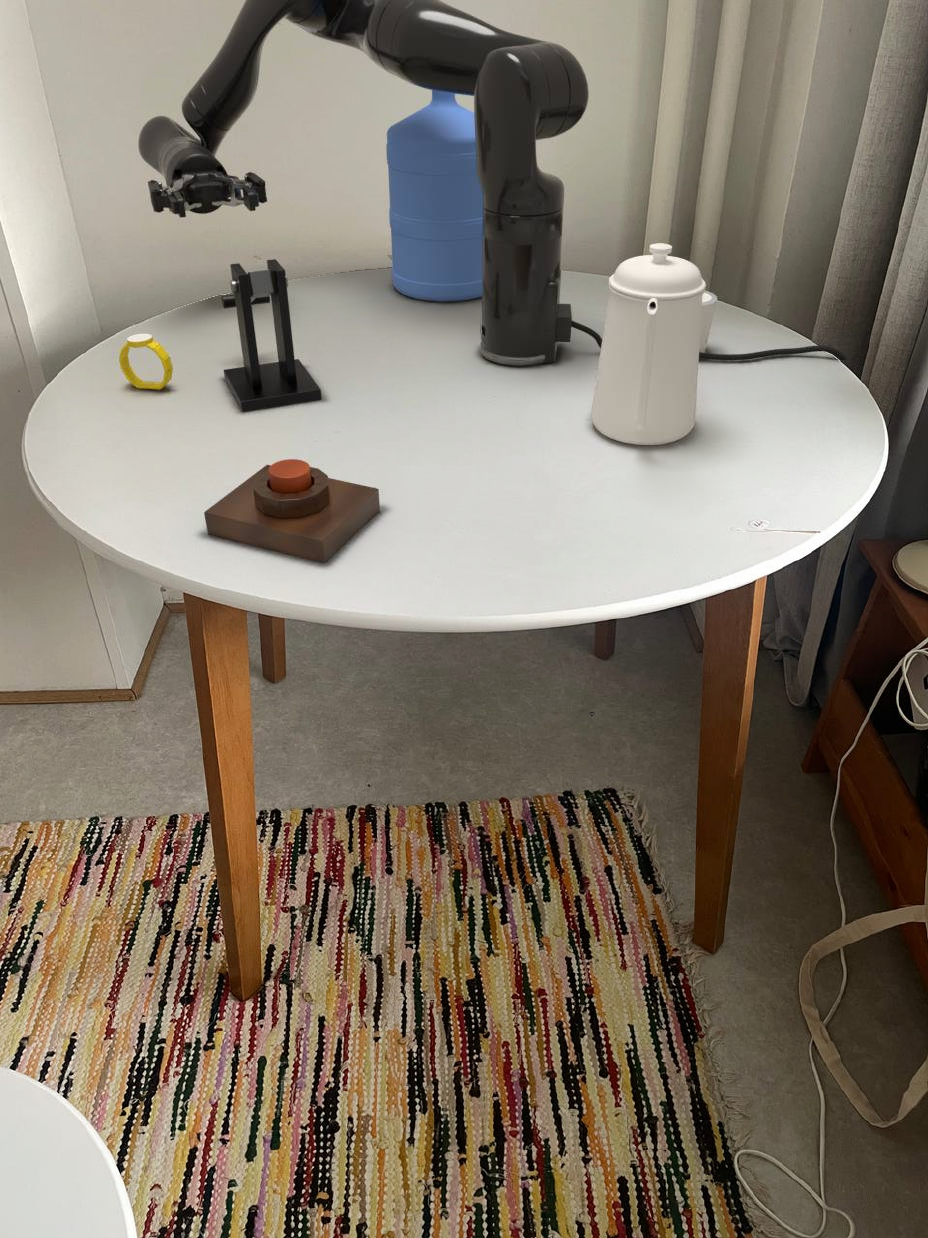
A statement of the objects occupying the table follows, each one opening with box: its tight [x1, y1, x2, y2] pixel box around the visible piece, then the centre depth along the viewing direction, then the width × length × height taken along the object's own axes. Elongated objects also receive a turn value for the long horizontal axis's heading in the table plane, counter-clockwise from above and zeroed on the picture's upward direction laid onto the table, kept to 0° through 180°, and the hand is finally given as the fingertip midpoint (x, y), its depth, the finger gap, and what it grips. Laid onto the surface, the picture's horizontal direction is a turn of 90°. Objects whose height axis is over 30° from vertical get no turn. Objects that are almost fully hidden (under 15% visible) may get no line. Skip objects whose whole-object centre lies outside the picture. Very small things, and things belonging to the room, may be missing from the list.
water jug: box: [385, 90, 483, 303], centre depth 137 cm, size 16×16×28 cm
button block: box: [203, 464, 381, 564], centre depth 89 cm, size 12×10×4 cm
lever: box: [220, 268, 274, 310], centre depth 113 cm, size 13×6×2 cm, turn 22°
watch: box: [118, 333, 174, 391], centre depth 113 cm, size 6×3×6 cm, turn 74°
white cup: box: [699, 290, 718, 353], centre depth 122 cm, size 7×7×7 cm
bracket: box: [223, 258, 322, 412], centre depth 111 cm, size 10×9×14 cm
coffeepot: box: [590, 242, 707, 446], centre depth 100 cm, size 11×25×19 cm, turn 168°
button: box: [269, 458, 312, 494], centre depth 88 cm, size 4×4×2 cm
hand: (217, 205), depth 122 cm, fingers open, 8 cm apart
